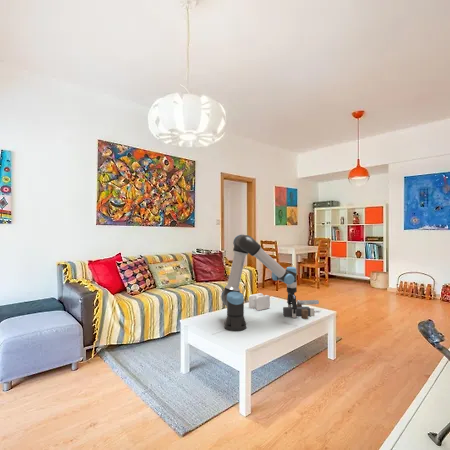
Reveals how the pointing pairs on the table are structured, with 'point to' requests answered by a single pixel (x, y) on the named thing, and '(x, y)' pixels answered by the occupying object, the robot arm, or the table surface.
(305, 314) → the brown wooden bar
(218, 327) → the table surface
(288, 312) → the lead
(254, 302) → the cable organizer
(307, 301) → the latch
